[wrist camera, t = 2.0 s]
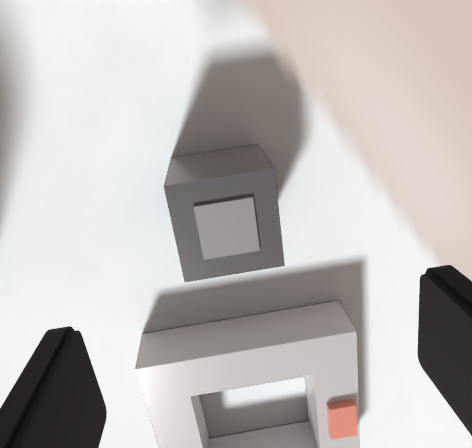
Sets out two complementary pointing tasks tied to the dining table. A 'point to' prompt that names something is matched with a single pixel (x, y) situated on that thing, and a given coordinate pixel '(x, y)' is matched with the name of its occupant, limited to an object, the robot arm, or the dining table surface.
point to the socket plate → (254, 376)
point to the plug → (224, 212)
